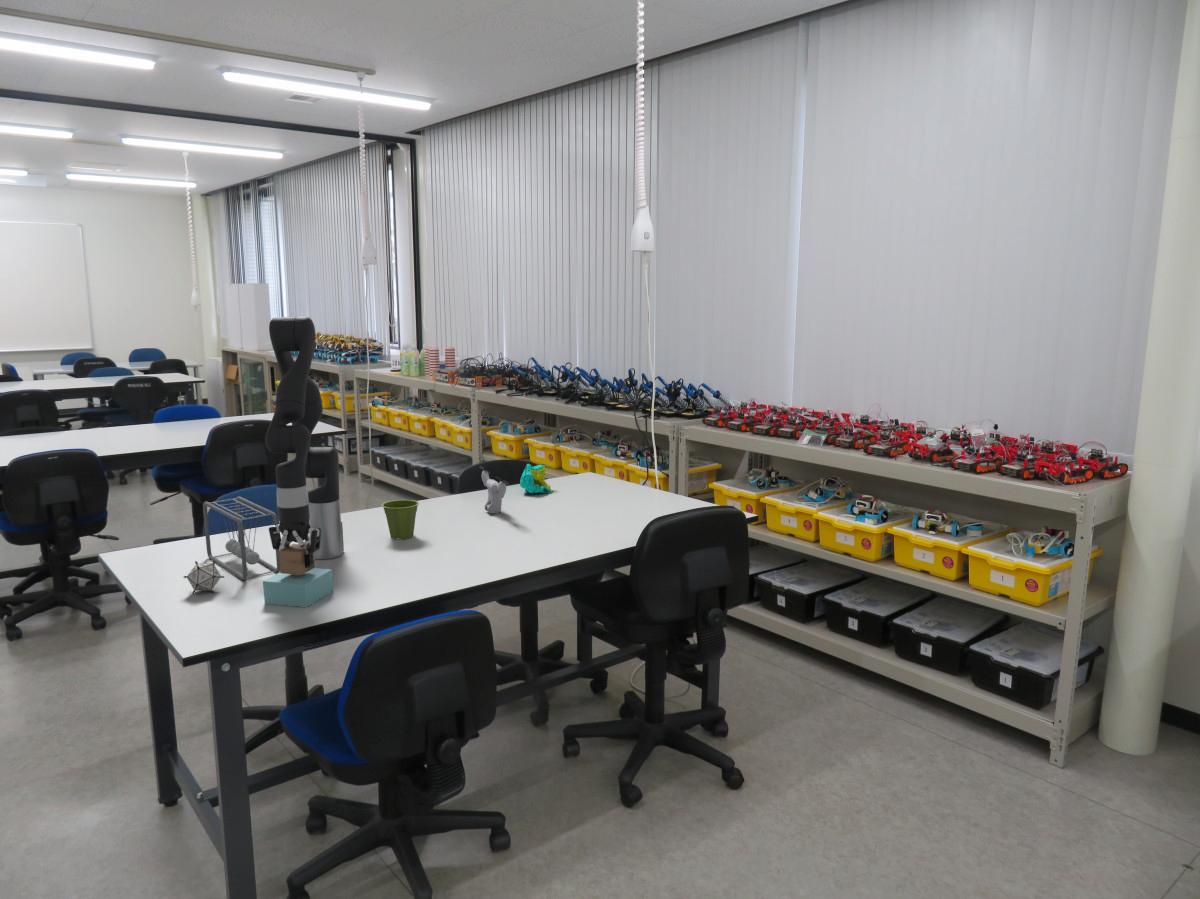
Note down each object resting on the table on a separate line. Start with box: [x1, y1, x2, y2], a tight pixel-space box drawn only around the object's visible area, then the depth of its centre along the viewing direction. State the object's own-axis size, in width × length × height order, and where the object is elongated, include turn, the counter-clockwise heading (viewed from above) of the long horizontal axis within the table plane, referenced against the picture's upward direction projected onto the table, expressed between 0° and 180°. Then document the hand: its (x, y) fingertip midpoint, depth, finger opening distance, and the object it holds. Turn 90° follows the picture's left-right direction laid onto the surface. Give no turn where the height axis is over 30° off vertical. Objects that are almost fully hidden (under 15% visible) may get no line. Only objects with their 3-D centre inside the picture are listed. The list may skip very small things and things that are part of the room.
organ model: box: [519, 463, 552, 494], centre depth 321 cm, size 15×12×13 cm
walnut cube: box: [279, 543, 316, 575], centre depth 205 cm, size 6×6×6 cm
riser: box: [262, 567, 334, 608], centre depth 206 cm, size 12×12×6 cm
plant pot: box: [381, 499, 420, 541], centre depth 259 cm, size 12×12×11 cm
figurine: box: [478, 465, 510, 515], centre depth 289 cm, size 35×6×15 cm, turn 25°
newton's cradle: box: [202, 495, 280, 581], centre depth 230 cm, size 30×10×18 cm, turn 44°
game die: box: [183, 560, 225, 594], centre depth 210 cm, size 9×8×10 cm
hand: (297, 565), depth 205 cm, fingers closed on walnut cube, 6 cm apart
